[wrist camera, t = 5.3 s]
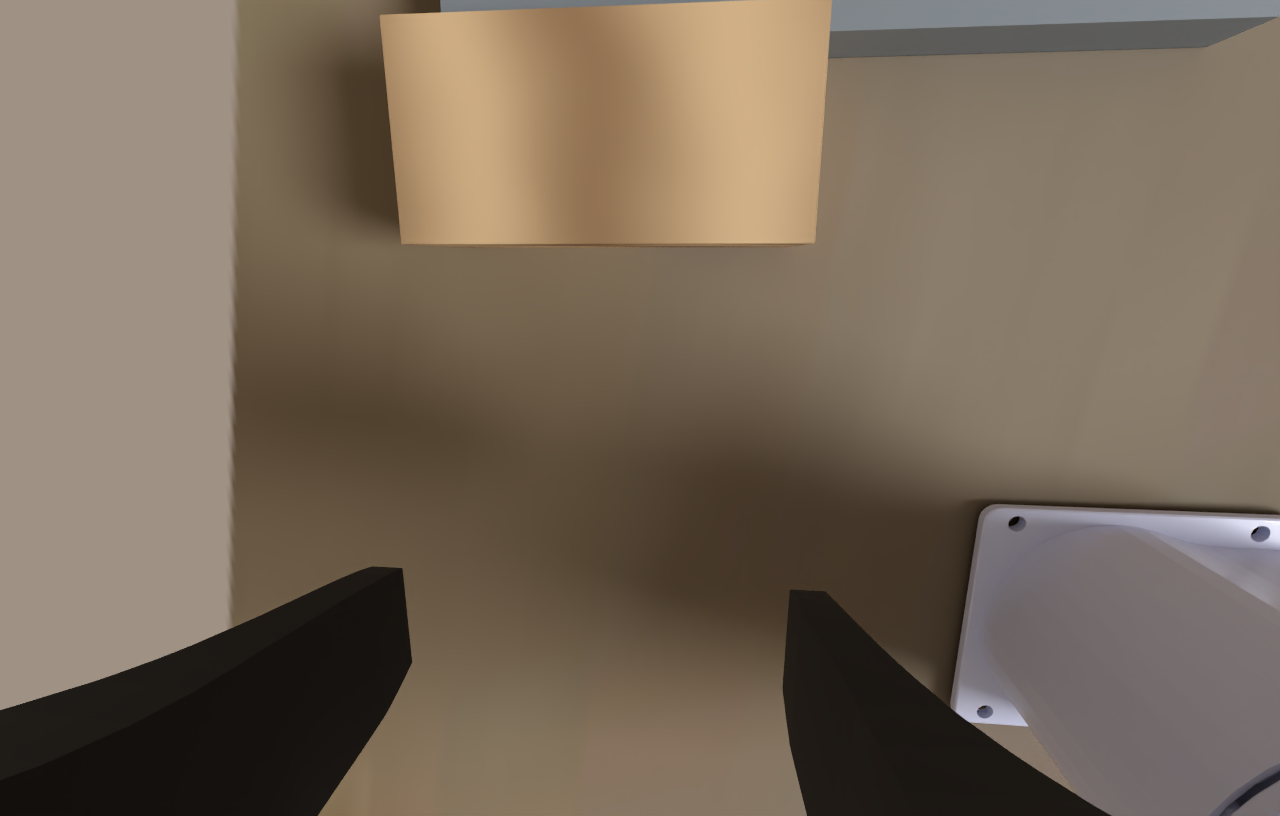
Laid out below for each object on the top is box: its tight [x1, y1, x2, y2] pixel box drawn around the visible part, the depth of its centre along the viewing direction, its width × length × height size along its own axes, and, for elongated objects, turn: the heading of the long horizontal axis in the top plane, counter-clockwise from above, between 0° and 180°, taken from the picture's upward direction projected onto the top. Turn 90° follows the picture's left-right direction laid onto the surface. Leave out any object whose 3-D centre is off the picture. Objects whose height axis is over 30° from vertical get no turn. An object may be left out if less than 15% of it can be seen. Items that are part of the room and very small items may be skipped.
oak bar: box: [380, 0, 832, 247], centre depth 16 cm, size 10×5×4 cm, turn 90°
